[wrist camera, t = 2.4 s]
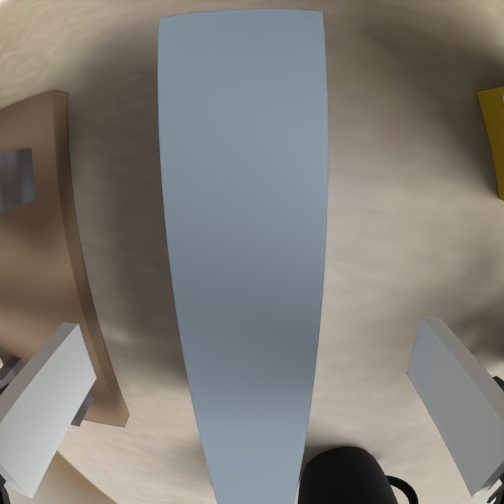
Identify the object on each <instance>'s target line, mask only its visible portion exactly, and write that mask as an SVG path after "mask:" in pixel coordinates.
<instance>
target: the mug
mask: <svg viewBox="0 0 504 504" xmlns="http://www.w3.org/2000/svg"><path fill="white" fill-rule="evenodd" d="M390 485H392V486H395V487H397V488H398V489H400V490H401V491H402V492H403V493H404V494H405V495H406V496H407V498H408V500H409V504H418V498H417V495H416V493H415V491H414V489H413V488H412V487H411V486H410V485H409V484H408V483H407V482H405V481H403V480H401V479H399V478H396V477H392V476H387V475H385V474H384V472H383V470H382V469H381V467H380V465H379V464H378V462H377V461H376V460H375V458H374V457H373V456H372V455H371V454H370V453H368V452H367V451H365V450H363V449H360V448H355V447H346V448H339V449H334V450H331V451H328V452H325V453H323V454H320V455H318V456H317V457H315V458H314V459H312V460H311V461H310V462H309V463H308V464H307V466H306V467H305V469H304V471H303V474H302V477H301V481H300V487H299V495H298V504H398V502H397V500H396V497H395V495H394V493H393V490H392V488H391V486H390Z"/></svg>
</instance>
